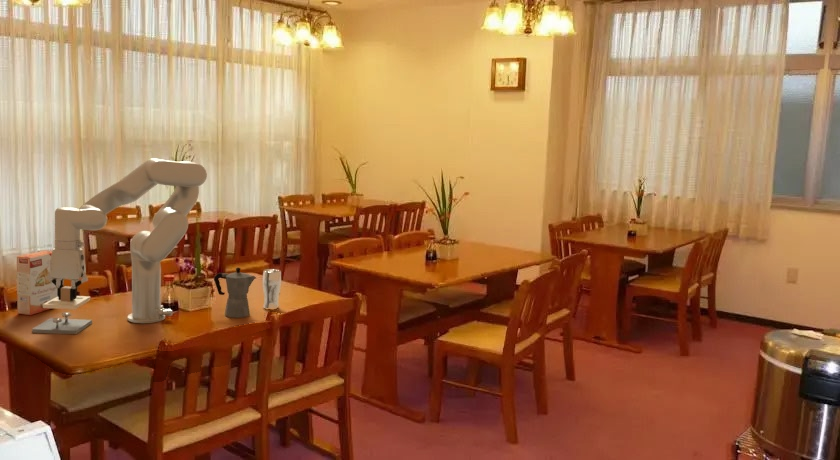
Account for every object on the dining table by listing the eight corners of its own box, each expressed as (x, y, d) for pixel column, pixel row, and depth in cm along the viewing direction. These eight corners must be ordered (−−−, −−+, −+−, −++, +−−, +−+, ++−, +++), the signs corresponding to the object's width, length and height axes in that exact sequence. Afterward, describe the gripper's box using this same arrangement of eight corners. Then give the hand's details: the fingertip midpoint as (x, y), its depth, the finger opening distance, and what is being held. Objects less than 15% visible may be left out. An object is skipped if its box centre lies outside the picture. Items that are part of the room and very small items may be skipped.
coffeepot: (257, 312, 270) (258, 266, 267) (252, 319, 260) (253, 271, 258) (216, 310, 269) (217, 264, 266) (210, 317, 260) (210, 269, 257)
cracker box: (31, 316, 249) (30, 257, 246) (16, 314, 250) (15, 256, 247) (59, 306, 262) (58, 251, 259) (45, 304, 263) (43, 249, 260)
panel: (90, 300, 243) (90, 284, 242) (74, 309, 230) (74, 292, 229) (60, 298, 242) (60, 282, 241) (42, 307, 229) (42, 291, 229)
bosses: (72, 320, 242) (71, 312, 242) (59, 328, 233) (59, 320, 232) (64, 320, 242) (64, 312, 242) (51, 328, 232) (51, 320, 232)
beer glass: (258, 308, 275) (259, 271, 272) (268, 305, 281) (269, 268, 279) (273, 311, 272) (274, 273, 270) (283, 307, 278) (284, 270, 276)
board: (92, 323, 244) (92, 319, 244) (76, 334, 232) (76, 330, 231) (50, 321, 243) (50, 318, 243) (32, 332, 231) (32, 329, 230)
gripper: (97, 244, 238) (96, 298, 240) (47, 241, 237) (47, 295, 239) (88, 248, 230) (88, 303, 233) (36, 245, 229) (36, 300, 232)
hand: (67, 298), depth 236 cm, fingers closed on panel, 3 cm apart
